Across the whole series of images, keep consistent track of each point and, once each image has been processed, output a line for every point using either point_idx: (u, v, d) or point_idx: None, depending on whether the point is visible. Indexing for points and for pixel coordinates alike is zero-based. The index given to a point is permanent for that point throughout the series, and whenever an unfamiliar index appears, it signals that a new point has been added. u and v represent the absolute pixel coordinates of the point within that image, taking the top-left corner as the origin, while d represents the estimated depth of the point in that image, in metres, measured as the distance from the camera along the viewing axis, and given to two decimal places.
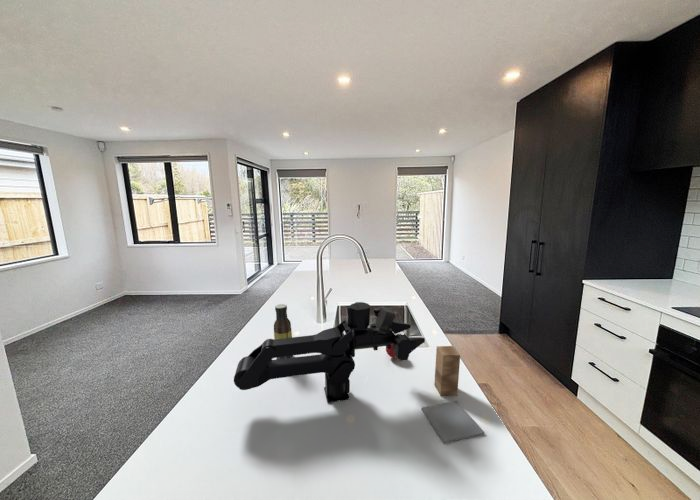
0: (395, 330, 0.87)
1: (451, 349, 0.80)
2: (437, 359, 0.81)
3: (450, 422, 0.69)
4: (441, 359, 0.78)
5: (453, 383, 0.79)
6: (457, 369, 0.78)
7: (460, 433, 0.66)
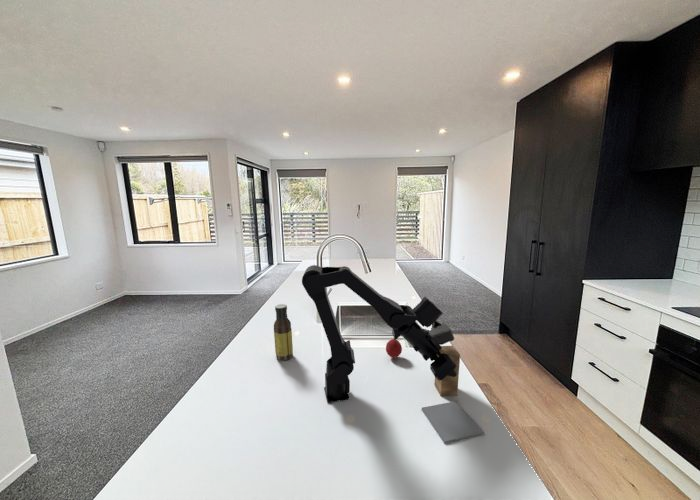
0: (433, 356, 0.83)
1: (451, 349, 0.80)
2: None
3: (450, 422, 0.69)
4: None
5: (453, 383, 0.79)
6: (457, 369, 0.78)
7: (460, 433, 0.66)
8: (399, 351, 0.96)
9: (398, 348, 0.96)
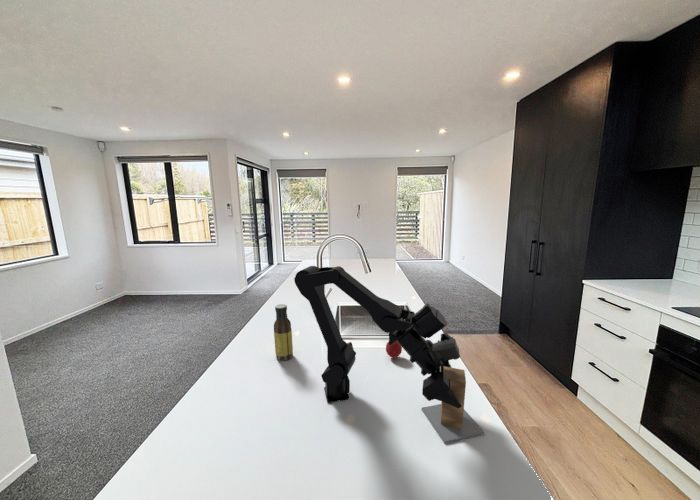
0: (441, 370, 0.74)
1: (459, 373, 0.68)
2: None
3: None
4: None
5: (456, 414, 0.67)
6: (462, 398, 0.65)
7: (460, 433, 0.66)
8: (399, 351, 0.96)
9: (398, 348, 0.96)
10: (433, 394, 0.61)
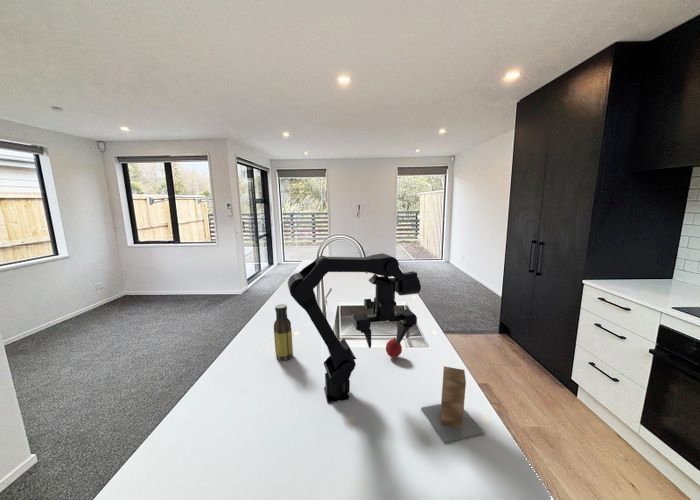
0: None
1: (459, 373, 0.68)
2: None
3: None
4: (443, 382, 0.67)
5: (456, 414, 0.67)
6: (462, 398, 0.65)
7: (460, 433, 0.66)
8: (399, 351, 0.96)
9: (398, 348, 0.96)
10: None
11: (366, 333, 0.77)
